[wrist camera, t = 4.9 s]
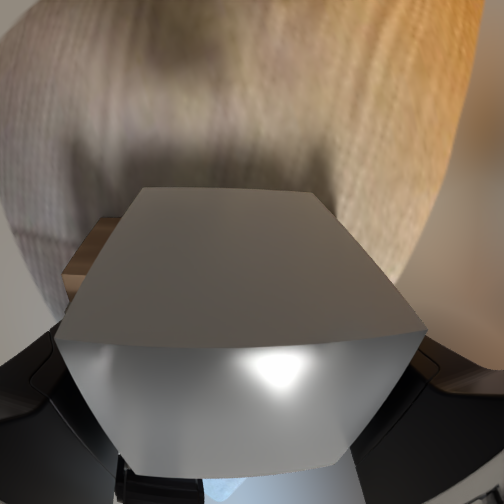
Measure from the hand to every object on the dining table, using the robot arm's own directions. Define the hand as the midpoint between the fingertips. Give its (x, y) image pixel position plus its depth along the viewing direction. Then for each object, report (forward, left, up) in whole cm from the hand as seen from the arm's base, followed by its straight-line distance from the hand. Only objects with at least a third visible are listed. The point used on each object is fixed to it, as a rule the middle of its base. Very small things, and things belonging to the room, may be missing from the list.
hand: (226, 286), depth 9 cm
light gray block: (0, 0, -1) cm, 1 cm away
